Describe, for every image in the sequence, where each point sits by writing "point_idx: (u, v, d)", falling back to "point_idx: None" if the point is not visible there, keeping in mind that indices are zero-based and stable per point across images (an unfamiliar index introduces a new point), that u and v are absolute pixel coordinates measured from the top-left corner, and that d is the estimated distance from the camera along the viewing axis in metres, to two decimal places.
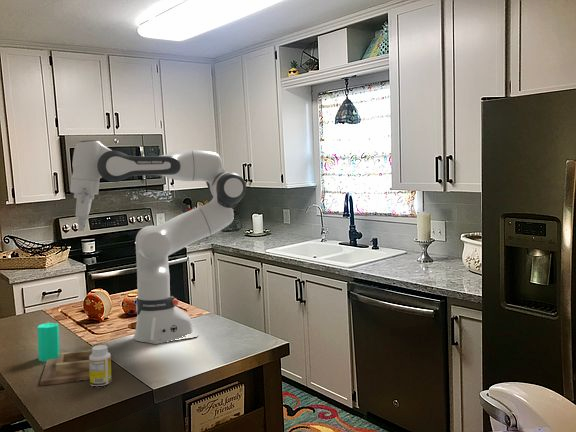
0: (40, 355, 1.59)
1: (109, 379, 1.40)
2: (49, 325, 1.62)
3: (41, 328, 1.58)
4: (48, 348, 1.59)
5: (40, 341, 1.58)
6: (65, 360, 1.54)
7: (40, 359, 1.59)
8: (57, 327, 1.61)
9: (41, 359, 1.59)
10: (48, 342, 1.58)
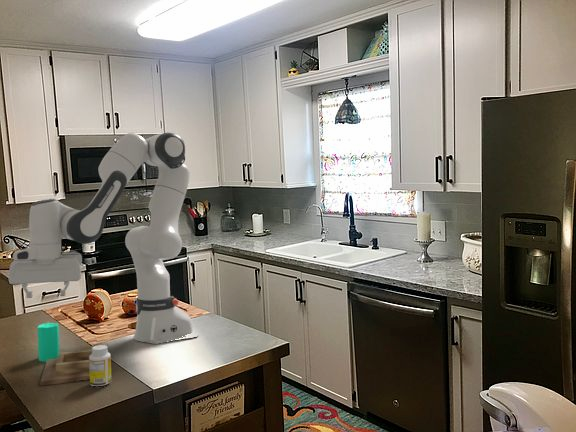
0: (40, 355, 1.59)
1: (109, 379, 1.40)
2: (49, 325, 1.62)
3: (41, 328, 1.58)
4: (48, 348, 1.59)
5: (40, 341, 1.58)
6: (65, 360, 1.54)
7: (40, 359, 1.59)
8: (57, 327, 1.61)
9: (41, 359, 1.59)
10: (48, 342, 1.58)
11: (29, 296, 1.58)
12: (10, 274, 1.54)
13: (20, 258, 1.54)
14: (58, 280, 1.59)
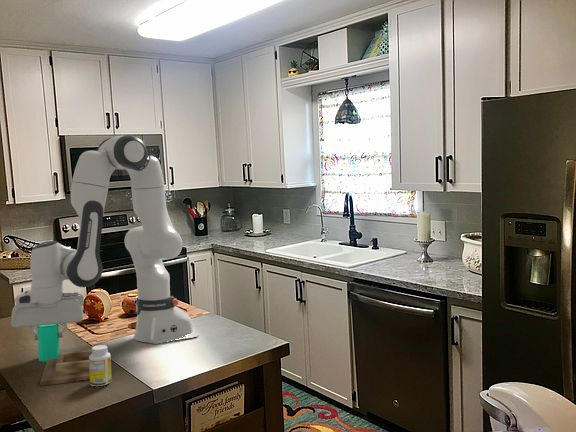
0: (40, 355, 1.59)
1: (109, 379, 1.40)
2: (49, 325, 1.62)
3: (41, 328, 1.58)
4: (48, 348, 1.59)
5: (40, 341, 1.58)
6: (65, 360, 1.54)
7: (40, 359, 1.59)
8: (57, 327, 1.61)
9: (41, 359, 1.59)
10: (48, 342, 1.58)
11: (36, 338, 1.59)
12: (12, 318, 1.55)
13: (22, 302, 1.55)
14: (60, 322, 1.60)
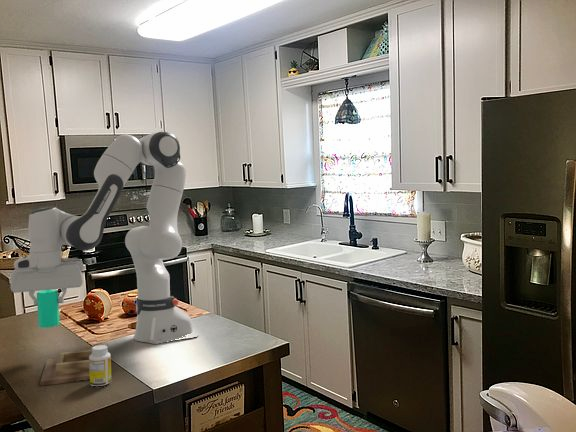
0: (40, 321, 1.58)
1: (109, 379, 1.40)
2: (48, 292, 1.61)
3: (40, 294, 1.57)
4: (48, 314, 1.58)
5: (40, 307, 1.58)
6: (65, 360, 1.54)
7: (40, 325, 1.58)
8: (56, 293, 1.60)
9: (41, 325, 1.58)
10: (47, 308, 1.58)
11: (36, 303, 1.59)
12: (12, 283, 1.55)
13: (21, 267, 1.54)
14: (60, 287, 1.60)
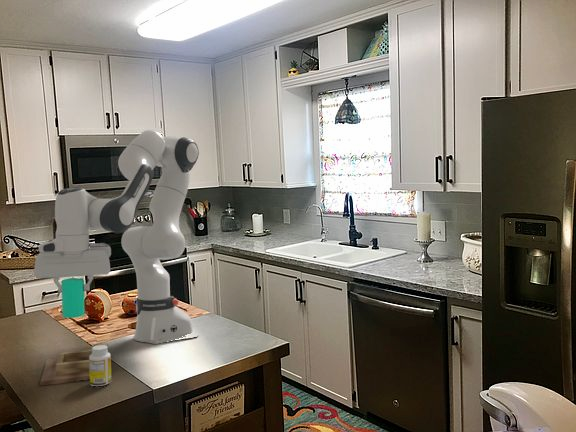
0: (64, 311, 1.48)
1: (109, 379, 1.40)
2: (74, 280, 1.51)
3: (65, 282, 1.47)
4: (73, 304, 1.48)
5: (64, 296, 1.48)
6: (65, 360, 1.54)
7: (64, 315, 1.48)
8: (82, 281, 1.50)
9: (65, 315, 1.48)
10: (73, 296, 1.48)
11: (61, 291, 1.48)
12: (36, 268, 1.45)
13: (46, 250, 1.44)
14: (86, 274, 1.49)
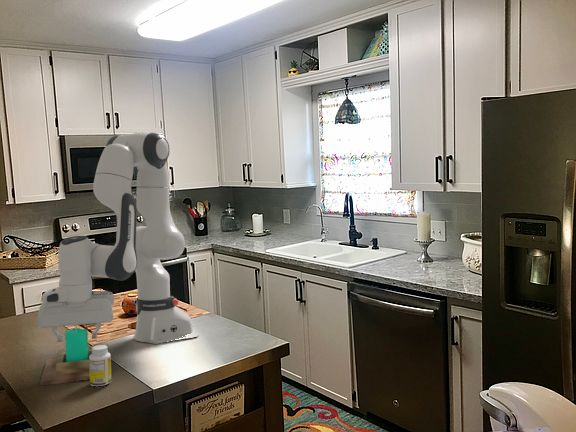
0: None
1: (109, 379, 1.40)
2: (77, 331, 1.52)
3: (69, 334, 1.48)
4: (77, 356, 1.48)
5: (68, 348, 1.48)
6: (65, 360, 1.54)
7: None
8: (86, 333, 1.51)
9: None
10: (77, 349, 1.48)
11: (59, 340, 1.48)
12: (39, 318, 1.45)
13: (50, 301, 1.45)
14: (90, 322, 1.50)
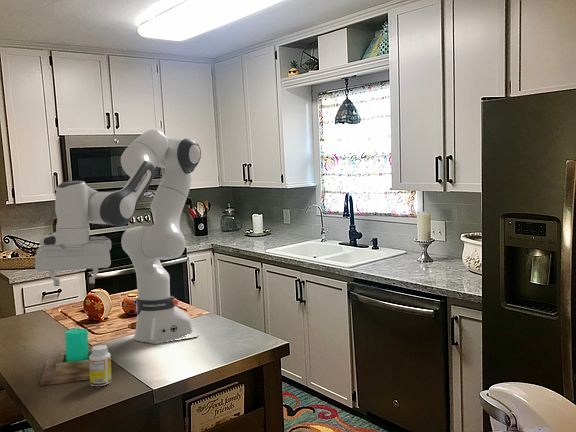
0: None
1: (109, 379, 1.40)
2: (77, 331, 1.52)
3: (69, 334, 1.48)
4: (77, 356, 1.48)
5: (68, 348, 1.48)
6: (65, 360, 1.54)
7: None
8: (86, 333, 1.51)
9: None
10: (77, 349, 1.48)
11: (57, 284, 1.48)
12: (36, 261, 1.45)
13: (47, 244, 1.44)
14: (87, 267, 1.49)
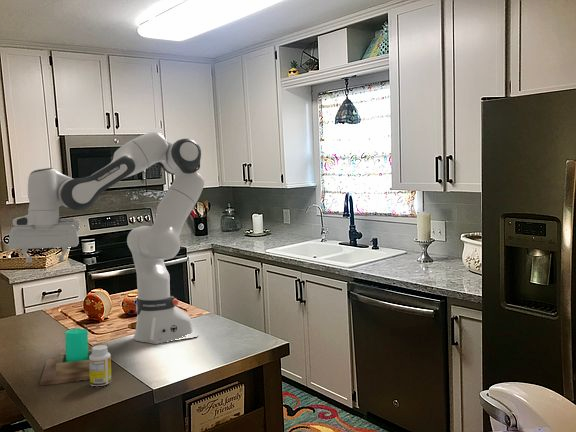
0: None
1: (109, 379, 1.40)
2: (77, 331, 1.52)
3: (69, 334, 1.48)
4: (77, 356, 1.48)
5: (68, 348, 1.48)
6: (65, 360, 1.54)
7: None
8: (86, 333, 1.51)
9: None
10: (77, 349, 1.48)
11: (29, 261, 1.64)
12: (10, 239, 1.61)
13: (19, 224, 1.61)
14: (56, 246, 1.66)
